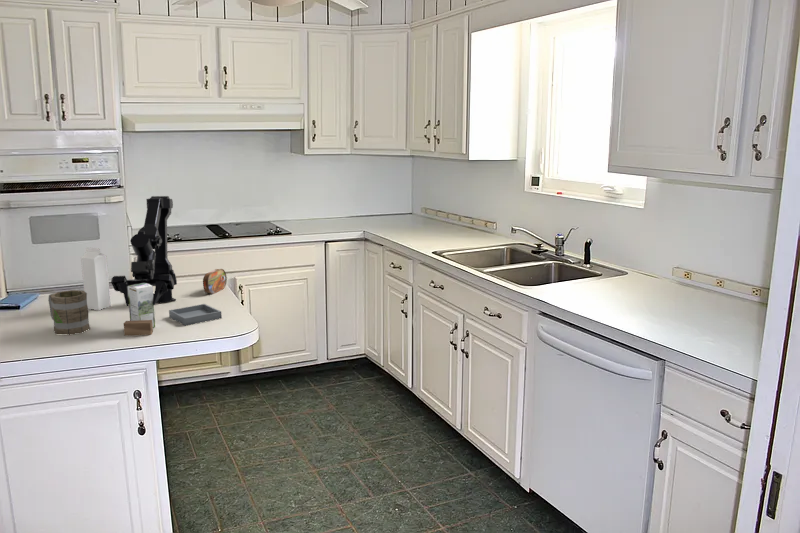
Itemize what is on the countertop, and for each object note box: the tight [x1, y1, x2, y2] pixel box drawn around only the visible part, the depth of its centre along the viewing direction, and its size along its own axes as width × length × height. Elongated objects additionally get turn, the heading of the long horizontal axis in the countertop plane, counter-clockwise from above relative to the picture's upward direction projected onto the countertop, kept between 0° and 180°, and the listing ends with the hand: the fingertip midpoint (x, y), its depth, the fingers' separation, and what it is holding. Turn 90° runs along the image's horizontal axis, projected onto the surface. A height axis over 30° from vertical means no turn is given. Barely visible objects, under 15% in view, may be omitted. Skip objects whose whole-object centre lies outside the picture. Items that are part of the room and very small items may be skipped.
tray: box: [168, 303, 223, 326], centre depth 232 cm, size 13×13×2 cm
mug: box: [48, 289, 91, 336], centre depth 218 cm, size 16×11×12 cm
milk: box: [80, 247, 112, 311], centre depth 242 cm, size 6×6×22 cm
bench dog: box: [123, 320, 154, 337], centre depth 214 cm, size 3×8×4 cm, turn 98°
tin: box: [202, 268, 228, 295], centre depth 268 cm, size 15×3×8 cm, turn 167°
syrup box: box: [128, 283, 156, 328], centre depth 219 cm, size 6×6×14 cm
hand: (140, 305), depth 218 cm, fingers closed on syrup box, 8 cm apart
